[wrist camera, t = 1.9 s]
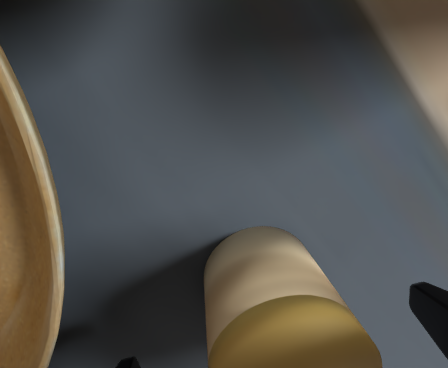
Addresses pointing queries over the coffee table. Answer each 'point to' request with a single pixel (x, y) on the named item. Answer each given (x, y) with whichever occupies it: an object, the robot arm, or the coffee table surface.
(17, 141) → the plant saucer
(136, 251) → the coffee table surface
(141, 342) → the coffee table surface
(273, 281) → the brass peg
